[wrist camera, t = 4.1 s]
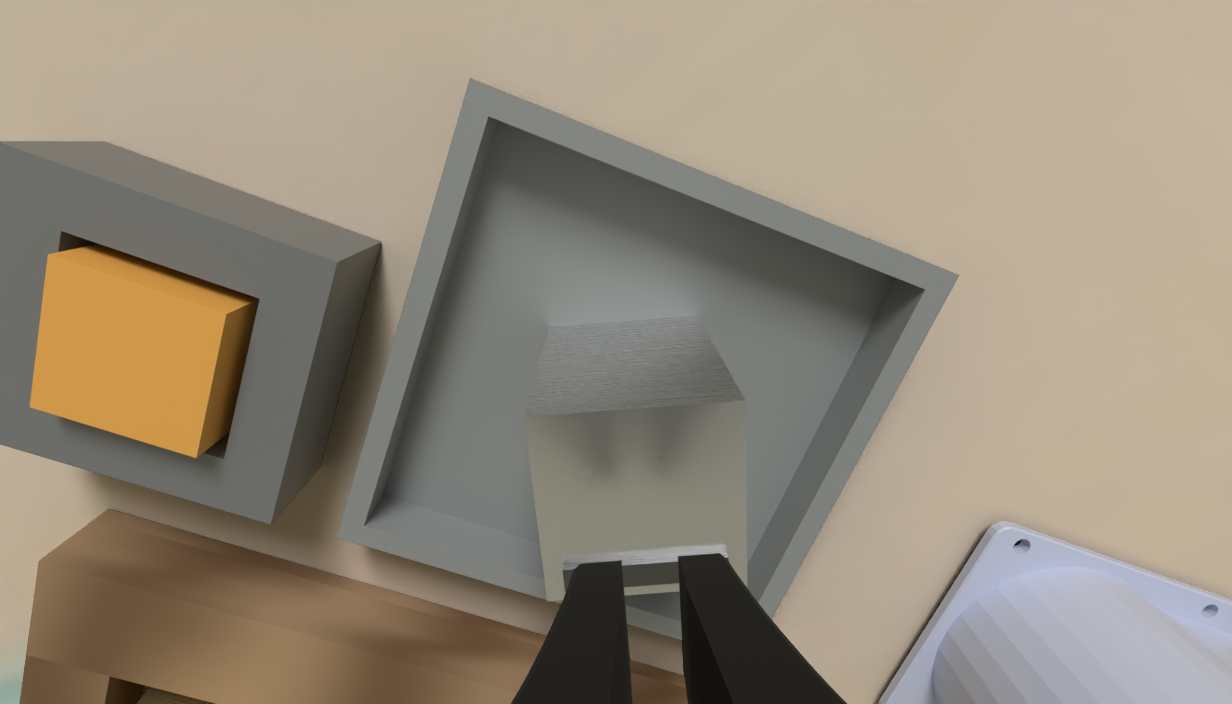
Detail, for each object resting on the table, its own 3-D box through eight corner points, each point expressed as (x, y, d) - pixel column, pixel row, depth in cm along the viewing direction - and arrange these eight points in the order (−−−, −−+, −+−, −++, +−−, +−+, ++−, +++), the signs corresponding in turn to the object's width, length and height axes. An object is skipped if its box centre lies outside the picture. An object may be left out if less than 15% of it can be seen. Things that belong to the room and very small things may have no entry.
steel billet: (697, 315, 17) (747, 404, 11) (702, 449, 19) (749, 592, 13) (548, 327, 17) (522, 421, 11) (563, 460, 19) (546, 608, 13)
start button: (290, 284, 17) (226, 314, 14) (261, 406, 18) (196, 458, 15) (145, 234, 16) (47, 254, 13) (124, 362, 17) (29, 407, 14)
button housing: (381, 242, 17) (337, 262, 14) (320, 466, 19) (270, 524, 16) (104, 141, 16) (-4, 141, 13) (70, 389, 18) (-30, 435, 15)
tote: (920, 260, 17) (959, 275, 16) (735, 613, 21) (749, 660, 19) (485, 85, 16) (469, 78, 14) (362, 498, 19) (336, 537, 17)
